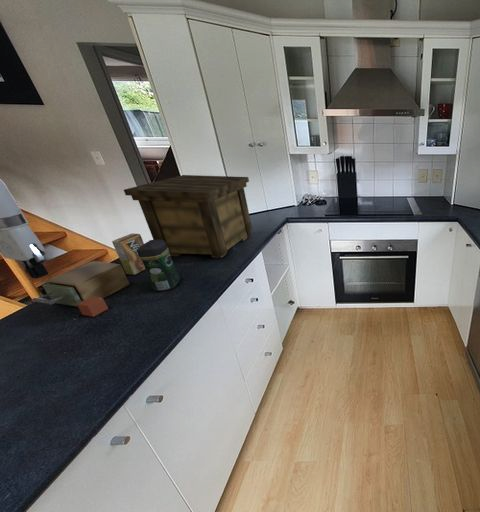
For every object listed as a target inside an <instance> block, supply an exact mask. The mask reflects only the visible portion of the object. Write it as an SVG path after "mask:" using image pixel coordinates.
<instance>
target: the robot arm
mask: <svg viewBox="0 0 480 512" xmlns="http://www.w3.org/2000/svg"><path fill="white" fill-rule="evenodd" d="M0 254H1V256H2V258H5V259H8V260H14V261H15V260H16V261H18V262H19V263H20V264H21V265H22V266H23V267H24V268H25V271H27V273H28V274H29V276H30V277H31V279H36V280H37V279H40V278H43V277H45V276H47V275H49V272H48V270H47V269H46V266H45V265H44V261H46V257H44V256H46V254H47V251H46V249H45V247H44V246H43V244H42V242H41V241H40V239H39V238H38V236H37V235H36V234H35V233H34V231H33V230H32V228H31V227H30V226H29V221H28V220H27V218H26V216H25V215H24V212H22V210H21V208H20V206H19V205H18V203H17V202H16V200H15V198H14V196H13V195H12V193H11V191H10V190H9V188H8V186H7V185H6V183H5V181H3V180H2V179H1V178H0Z"/></svg>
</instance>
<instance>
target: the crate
mask: <svg viewBox="0 0 480 512" xmlns="http://www.w3.org/2000/svg"><path fill="white" fill-rule="evenodd" d="M249 182H250V179H249V176H225V175H196V174H195V175H194V174H181V175H176V176H174V177H169V178H166V179H162V180H157V181H153V182H149V183H144V184H141V185H137V186H133V187H129V188H125V189H123V193H124V194H125V196H130V197H131V199H132V201H137V202H138V203H139V206H140V209H141V211H142V214H143V217H144V219H145V222H146V224H147V227H148V229H149V232H150V235H151V237H152V240H160V239H161V240H163V241H165V242H166V244H167V246H168V249H169V253H170V256H171V257H180V256H182V255H184V254H188V255H189V254H191V255H210V256H211V259H222V258H223V257H225V256H226V255H227V253H228V250H229V249H231V248H232V247H233V246H235V245H236V244H238V243H239V242H244V241H246V240H247V239H248V236H251V235H252V234H253V233H254V231H253V226H252V222H251V215H250V211H249V207H248V203H247V196H246V192H245V188H247V187H248V184H247V183H249Z"/></svg>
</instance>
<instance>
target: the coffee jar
mask: <svg viewBox="0 0 480 512" xmlns="http://www.w3.org/2000/svg"><path fill="white" fill-rule="evenodd" d="M137 253H138V256H139V258H140V259H141V261H142V262H143V264H144V267H145V269H144V270H145V272H146V275H147V277H148V280H149V283H150V287H151V288H152V290H153V291H156V292H166V291H168V290H171V289H173V288H175V287H176V286H177V285H178V284H179V282H180V279H181V277H180V276H179V273H178V271H177V268H176V266H175V263H174V262H173V259H172V256H170V253H169V249H168V246H167V244H166V242H165V241H163V240H161V239H160V240H153V239H149V240H148V241H146V242H145V243H144V244H143V245H142V246H140V247H139V248H138V249H137Z"/></svg>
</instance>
